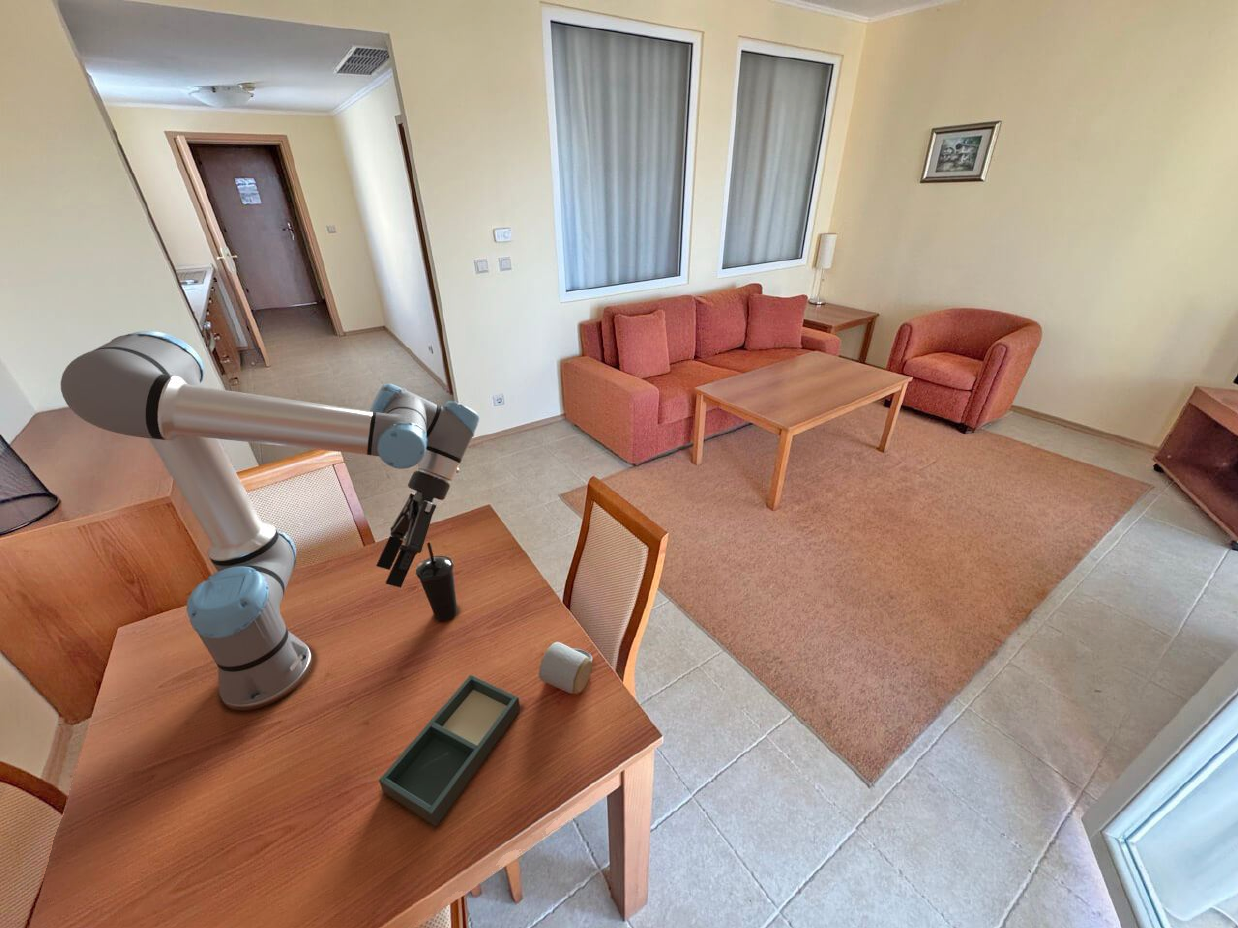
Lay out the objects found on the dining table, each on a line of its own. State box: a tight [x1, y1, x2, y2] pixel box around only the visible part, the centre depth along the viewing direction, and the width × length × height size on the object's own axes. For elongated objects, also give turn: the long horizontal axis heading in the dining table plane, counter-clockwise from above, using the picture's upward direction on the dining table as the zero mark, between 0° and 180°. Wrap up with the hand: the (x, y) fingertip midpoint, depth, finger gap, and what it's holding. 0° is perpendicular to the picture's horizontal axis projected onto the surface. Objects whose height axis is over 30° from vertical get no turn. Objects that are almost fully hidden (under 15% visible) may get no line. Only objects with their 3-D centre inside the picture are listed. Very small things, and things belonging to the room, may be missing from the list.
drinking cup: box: [415, 542, 458, 622], centre depth 108 cm, size 8×8×20 cm
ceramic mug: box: [538, 641, 593, 695], centre depth 96 cm, size 11×8×8 cm
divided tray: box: [378, 674, 521, 827], centre depth 84 cm, size 11×21×4 cm, turn 154°
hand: (387, 576), depth 97 cm, fingers open, 13 cm apart
